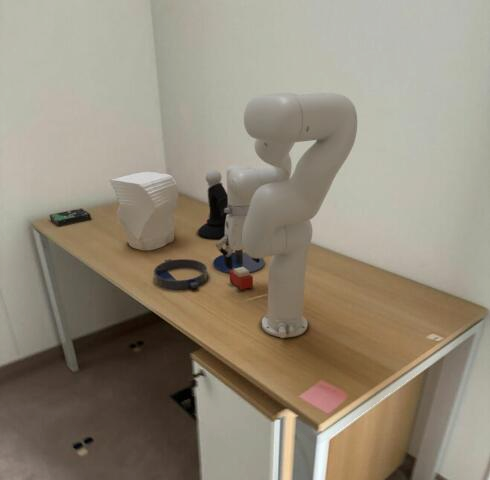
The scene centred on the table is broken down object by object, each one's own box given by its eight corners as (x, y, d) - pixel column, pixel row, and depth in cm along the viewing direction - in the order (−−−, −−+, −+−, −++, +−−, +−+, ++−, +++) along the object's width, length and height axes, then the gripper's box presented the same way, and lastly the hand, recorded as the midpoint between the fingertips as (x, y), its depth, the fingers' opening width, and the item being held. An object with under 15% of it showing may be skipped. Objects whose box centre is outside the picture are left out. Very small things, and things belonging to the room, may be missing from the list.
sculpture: (222, 224, 200) (220, 164, 187) (254, 240, 184) (254, 175, 170) (191, 231, 193) (187, 169, 180) (221, 249, 176) (219, 182, 163)
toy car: (252, 289, 147) (252, 272, 144) (241, 292, 146) (241, 275, 142) (241, 280, 153) (240, 263, 150) (229, 283, 151) (229, 266, 148)
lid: (228, 280, 153) (228, 263, 150) (204, 261, 166) (203, 245, 163) (274, 268, 161) (274, 252, 157) (248, 251, 174) (247, 235, 171)
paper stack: (113, 245, 180) (102, 177, 166) (167, 227, 197) (161, 164, 183) (146, 260, 168) (137, 188, 154) (201, 239, 185) (197, 173, 171)
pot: (170, 299, 142) (169, 289, 140) (144, 272, 159) (143, 263, 157) (220, 286, 149) (219, 276, 148) (190, 261, 166) (190, 252, 164)
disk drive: (82, 214, 214) (50, 220, 206) (81, 208, 212) (48, 214, 204) (91, 219, 207) (58, 226, 199) (90, 213, 205) (57, 220, 197)
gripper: (220, 217, 129) (223, 274, 137) (272, 207, 136) (272, 262, 145) (208, 211, 135) (212, 266, 143) (259, 202, 142) (260, 255, 151)
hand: (242, 264), depth 144 cm, fingers open, 9 cm apart
